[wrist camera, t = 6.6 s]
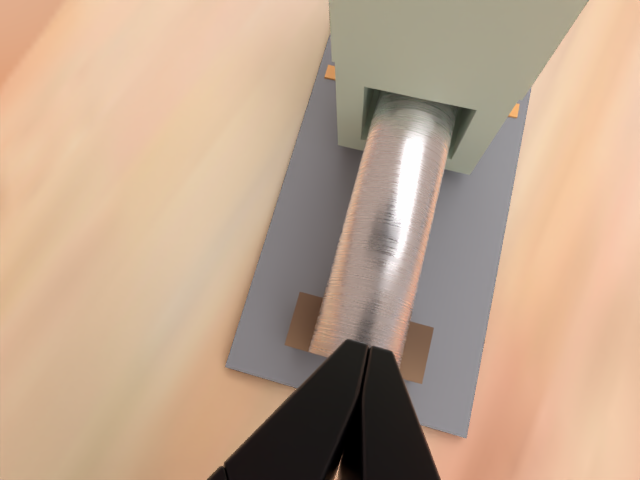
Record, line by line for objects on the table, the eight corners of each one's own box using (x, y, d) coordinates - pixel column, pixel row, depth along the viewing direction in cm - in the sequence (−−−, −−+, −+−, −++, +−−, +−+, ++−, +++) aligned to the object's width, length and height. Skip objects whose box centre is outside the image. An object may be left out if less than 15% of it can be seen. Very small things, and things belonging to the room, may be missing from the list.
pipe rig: (462, 436, 18) (516, 469, 13) (228, 366, 20) (178, 368, 14) (542, 8, 23) (608, -111, 18) (351, -26, 25) (353, -148, 19)
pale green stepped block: (471, 175, 20) (613, -38, 9) (335, 144, 20) (324, -85, 10) (489, 94, 21) (634, -182, 10) (358, 67, 21) (369, -216, 11)
